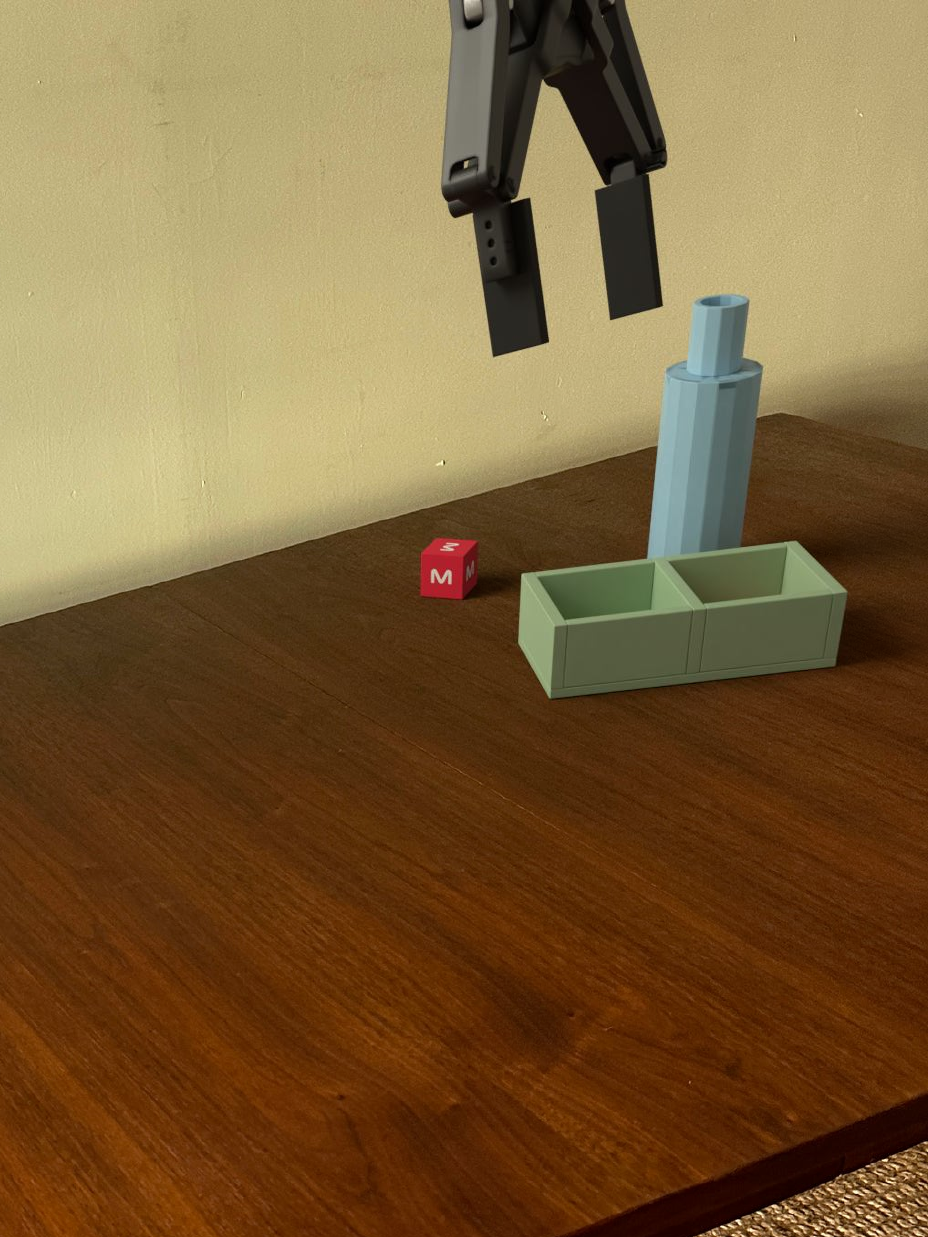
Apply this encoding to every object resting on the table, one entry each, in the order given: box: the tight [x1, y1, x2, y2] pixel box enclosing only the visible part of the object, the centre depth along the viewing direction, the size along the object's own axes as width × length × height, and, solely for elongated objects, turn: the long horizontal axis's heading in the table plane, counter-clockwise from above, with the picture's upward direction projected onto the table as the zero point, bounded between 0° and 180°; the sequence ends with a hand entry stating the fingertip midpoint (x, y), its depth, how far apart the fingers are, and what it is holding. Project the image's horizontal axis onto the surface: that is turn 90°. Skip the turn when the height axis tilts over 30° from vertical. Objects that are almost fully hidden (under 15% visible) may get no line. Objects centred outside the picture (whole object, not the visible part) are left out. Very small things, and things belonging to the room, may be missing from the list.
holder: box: [517, 540, 848, 700], centre depth 108 cm, size 17×9×5 cm, turn 90°
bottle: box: [646, 293, 764, 559], centre depth 114 cm, size 6×6×17 cm
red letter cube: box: [420, 537, 479, 600], centre depth 121 cm, size 3×3×3 cm
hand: (581, 331), depth 92 cm, fingers open, 13 cm apart
